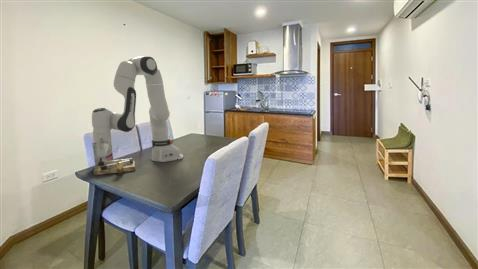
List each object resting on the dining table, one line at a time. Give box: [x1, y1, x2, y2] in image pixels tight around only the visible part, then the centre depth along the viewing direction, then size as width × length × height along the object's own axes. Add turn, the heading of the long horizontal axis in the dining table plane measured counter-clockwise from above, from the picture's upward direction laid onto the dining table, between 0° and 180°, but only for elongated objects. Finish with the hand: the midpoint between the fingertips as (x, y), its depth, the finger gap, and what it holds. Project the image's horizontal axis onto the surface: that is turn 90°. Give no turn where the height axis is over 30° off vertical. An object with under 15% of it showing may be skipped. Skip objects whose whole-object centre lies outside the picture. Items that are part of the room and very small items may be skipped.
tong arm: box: [100, 160, 130, 170], centre depth 145 cm, size 17×2×2 cm, turn 139°
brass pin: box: [116, 162, 124, 176], centre depth 141 cm, size 3×3×7 cm
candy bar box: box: [92, 139, 114, 167], centre depth 155 cm, size 11×5×16 cm, turn 168°
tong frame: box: [98, 157, 134, 166], centre depth 150 cm, size 20×3×3 cm, turn 114°
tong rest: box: [93, 160, 136, 176], centre depth 148 cm, size 22×13×2 cm, turn 114°
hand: (104, 160), depth 135 cm, fingers closed
